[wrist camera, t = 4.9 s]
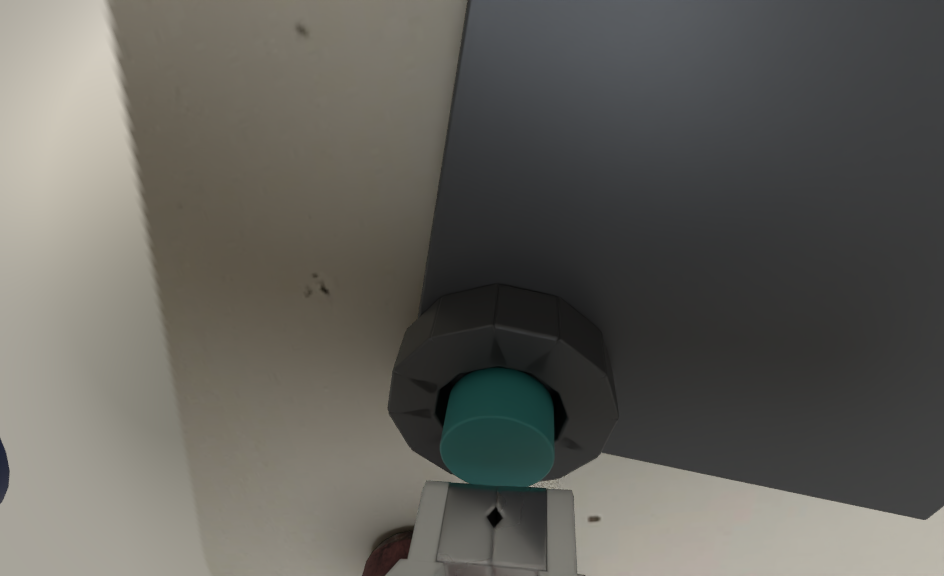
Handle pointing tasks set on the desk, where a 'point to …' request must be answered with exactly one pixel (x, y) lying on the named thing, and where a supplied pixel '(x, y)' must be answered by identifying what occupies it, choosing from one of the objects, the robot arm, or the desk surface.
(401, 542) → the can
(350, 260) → the desk surface
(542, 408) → the button
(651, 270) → the scale
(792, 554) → the desk surface
